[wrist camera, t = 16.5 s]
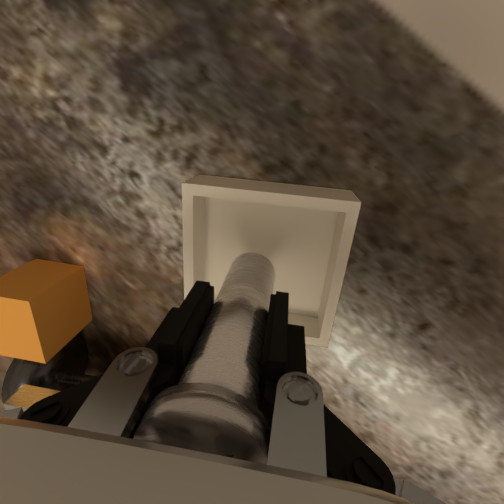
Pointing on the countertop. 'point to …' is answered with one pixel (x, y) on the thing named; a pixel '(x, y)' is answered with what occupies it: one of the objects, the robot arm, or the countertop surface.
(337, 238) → the tray
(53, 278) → the block
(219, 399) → the pin
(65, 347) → the trolley
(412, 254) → the countertop surface
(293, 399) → the robot arm
